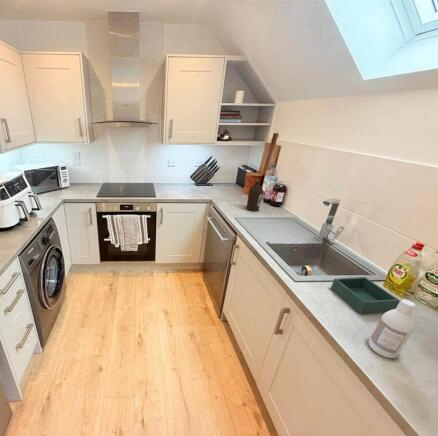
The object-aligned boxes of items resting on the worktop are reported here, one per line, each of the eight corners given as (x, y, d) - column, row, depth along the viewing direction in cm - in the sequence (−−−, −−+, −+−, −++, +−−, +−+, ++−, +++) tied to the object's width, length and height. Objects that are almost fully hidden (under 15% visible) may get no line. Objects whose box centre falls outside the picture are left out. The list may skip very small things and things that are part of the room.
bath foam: (377, 338, 82) (403, 292, 74) (401, 356, 76) (432, 308, 68) (362, 342, 80) (386, 296, 72) (386, 361, 74) (415, 313, 66)
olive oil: (243, 209, 194) (249, 180, 184) (247, 206, 201) (253, 177, 191) (257, 212, 188) (263, 182, 178) (260, 209, 195) (267, 179, 185)
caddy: (360, 286, 106) (365, 276, 104) (394, 311, 93) (400, 300, 91) (330, 288, 105) (334, 278, 103) (360, 313, 92) (365, 302, 90)
